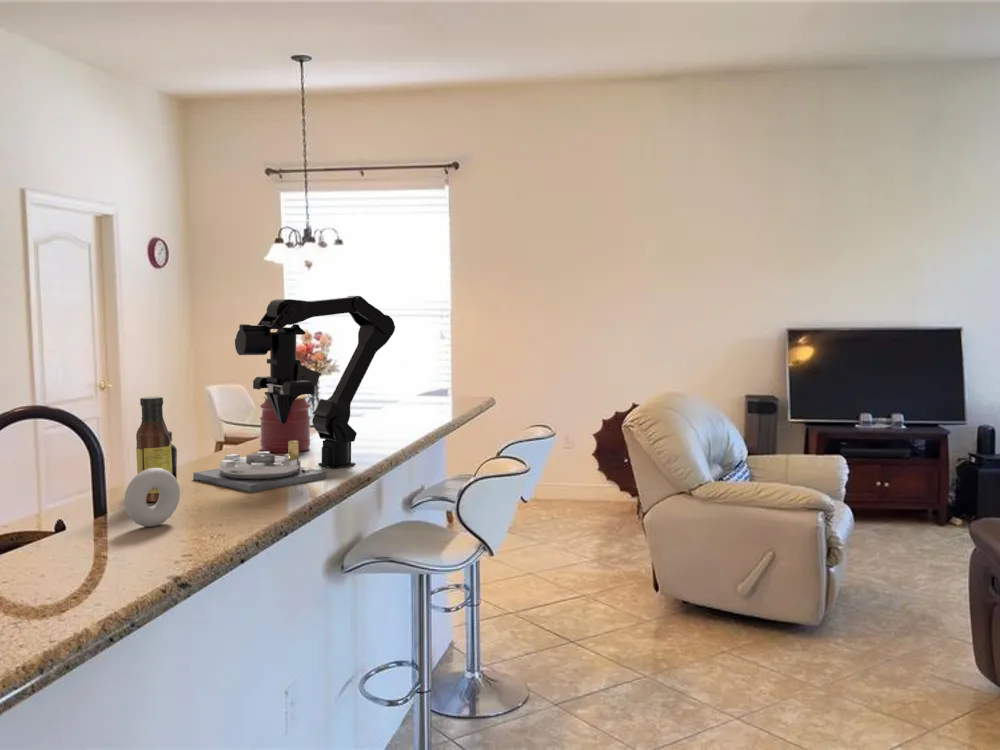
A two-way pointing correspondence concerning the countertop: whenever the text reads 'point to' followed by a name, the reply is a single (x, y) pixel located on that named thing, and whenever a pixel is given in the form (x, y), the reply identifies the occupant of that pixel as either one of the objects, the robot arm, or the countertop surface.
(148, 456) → the sauce bottle
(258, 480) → the flat gray square plate
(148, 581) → the countertop surface
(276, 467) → the lugged silver disc
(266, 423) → the canister
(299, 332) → the robot arm
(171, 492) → the donut
